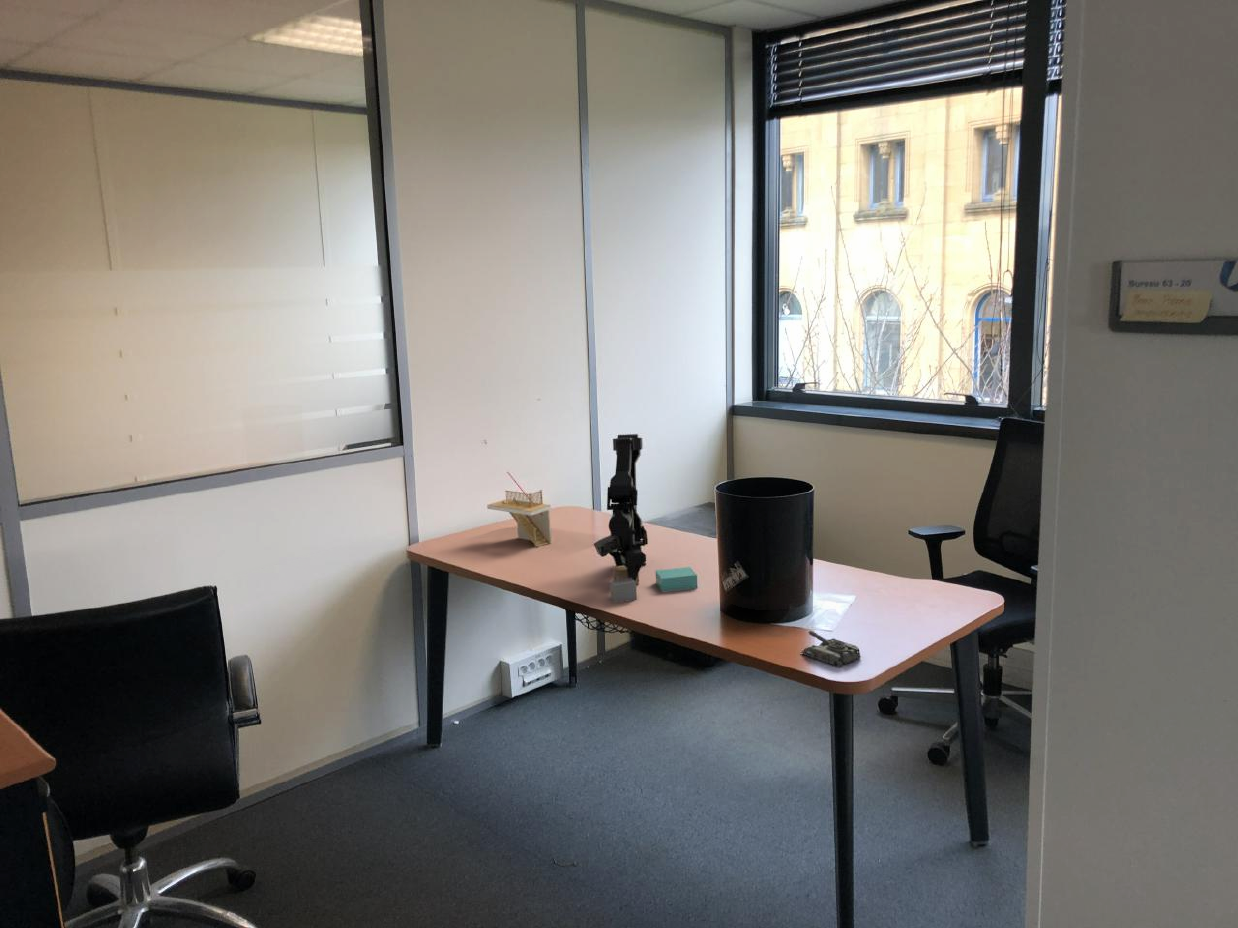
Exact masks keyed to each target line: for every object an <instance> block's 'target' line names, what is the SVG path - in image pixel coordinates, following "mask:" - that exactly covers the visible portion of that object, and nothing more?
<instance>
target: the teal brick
mask: <svg viewBox="0 0 1238 928" xmlns="http://www.w3.org/2000/svg"><path fill="white" fill-rule="evenodd" d="M654 573H655V584H656V586H658V588H659V589H660V591H661V592H663V593H664V592H670V591H673V590H674V591H680V590H681V591H682V590H691V589H697V588H698V574H697V573H696V572H695V571H694V570H693V569H692V568H691V566H685V567H677V568H668V569H659V570H658V569H657V570H655V571H654Z"/></svg>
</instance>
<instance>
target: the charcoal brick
mask: <svg viewBox="0 0 1238 928" xmlns="http://www.w3.org/2000/svg"><path fill="white" fill-rule="evenodd" d="M609 582H610V583H609V585H610V599H611V600H612V601H613V602H614V603H615V602H616V603H615V604H618V603H623V602H622V601H624V602H629V600H630V601H636V600H638V598H637V597H638V594H637V585H636V582H635V581H634V580H633V579H632V578H627V579H621V580H614V579H613V580H609ZM617 602H618V603H617Z"/></svg>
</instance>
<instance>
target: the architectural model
mask: <svg viewBox="0 0 1238 928" xmlns="http://www.w3.org/2000/svg"><path fill="white" fill-rule="evenodd" d="M506 473H507V474H508V475H509V477H510V478H511V479H512V480H513V482H514V483H515V484H516V485H517V486H518V488H519V489H520V490H521V491H522V492H519V491H511V490H505V498H506V499H503V500H499V501H496V502H491V503H489V504H487V505H486V506H487V510H493V511H501V512H504V513H505V512H507V513H509V515H511V517H512V518H513V519H514V520H515V522H516V523H517V536H518V537H517V539H520V538H521V540H527V541H531V542H532V543H533V546H534V548H541V547H543V546H546V545H550V544H552V533H551V532H552V531H551V519H550V518H551V517H550V510H551V509H552V505H550V504H548V503H543V502H544V501H543V490H542V489H540V491H536V492H532V493H531V492H529V493H526V492H525V491H524V490H523V488H522V487H521V485H519V483H518V482H517V481H516V480H515V479H514V477H513V476H512V475H511V474H510V473H509V471H507V472H506Z"/></svg>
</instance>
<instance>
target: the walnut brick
mask: <svg viewBox="0 0 1238 928" xmlns="http://www.w3.org/2000/svg"><path fill="white" fill-rule="evenodd" d="M627 578H628V573H627V568H626V567H625V566H624V565H623V566H616V565H615V566H613V581H614V580H621V579H627ZM639 579H640V578H639V574H638V575H637V578H636V580H635V582H636V586H637V585H640V581H639Z"/></svg>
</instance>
